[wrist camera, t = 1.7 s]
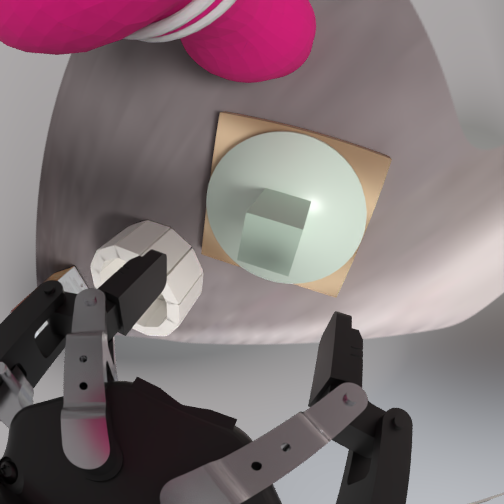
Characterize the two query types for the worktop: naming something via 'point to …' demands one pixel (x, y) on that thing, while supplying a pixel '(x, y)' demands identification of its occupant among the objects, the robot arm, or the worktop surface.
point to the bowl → (178, 272)
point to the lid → (286, 207)
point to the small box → (65, 285)
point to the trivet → (360, 158)
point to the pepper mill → (172, 30)
